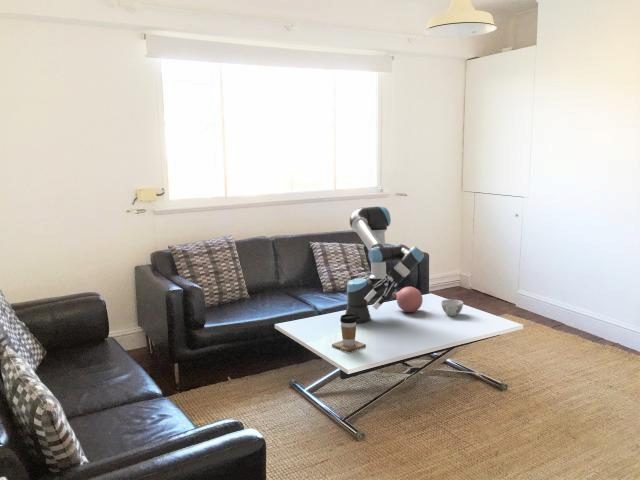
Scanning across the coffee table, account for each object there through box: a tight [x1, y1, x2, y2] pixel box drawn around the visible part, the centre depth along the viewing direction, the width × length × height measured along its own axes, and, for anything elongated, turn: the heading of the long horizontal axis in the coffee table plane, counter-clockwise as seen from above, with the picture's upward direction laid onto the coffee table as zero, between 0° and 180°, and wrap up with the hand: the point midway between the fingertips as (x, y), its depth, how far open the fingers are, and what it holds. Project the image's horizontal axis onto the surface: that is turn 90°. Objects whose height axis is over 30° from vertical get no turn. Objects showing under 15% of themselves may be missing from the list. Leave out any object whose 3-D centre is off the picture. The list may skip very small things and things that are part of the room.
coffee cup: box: [339, 313, 357, 346], centre depth 268 cm, size 8×8×15 cm
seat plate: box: [331, 340, 366, 353], centre depth 270 cm, size 12×12×1 cm
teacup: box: [440, 299, 464, 317], centre depth 315 cm, size 15×12×8 cm
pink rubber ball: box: [391, 286, 424, 313], centre depth 324 cm, size 15×20×15 cm
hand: (370, 304), depth 268 cm, fingers open, 13 cm apart
